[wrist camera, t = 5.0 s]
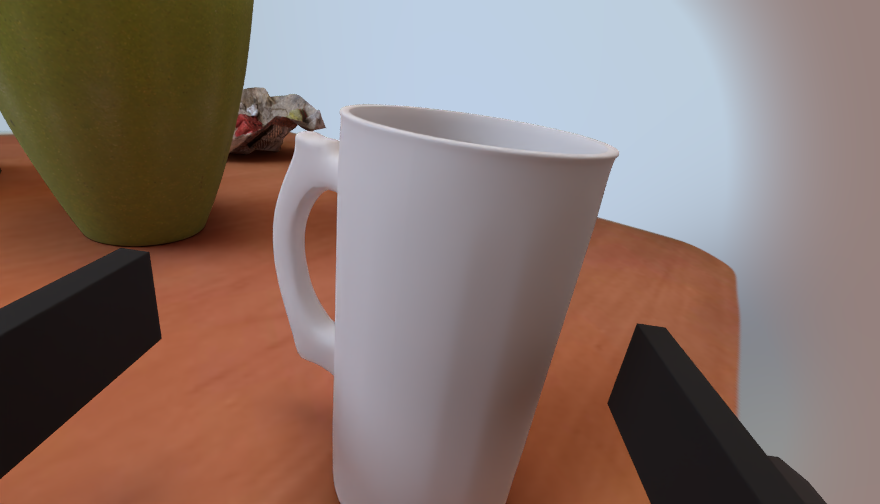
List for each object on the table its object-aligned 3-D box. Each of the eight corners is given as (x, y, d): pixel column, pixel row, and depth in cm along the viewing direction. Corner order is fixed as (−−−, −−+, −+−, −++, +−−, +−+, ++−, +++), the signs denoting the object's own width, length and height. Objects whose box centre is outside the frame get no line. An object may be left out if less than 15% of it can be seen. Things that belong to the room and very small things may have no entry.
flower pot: (292, 249, 31) (293, -7, 24) (-1, 298, 21) (-124, -104, 15) (226, 190, 40) (214, -2, 34) (5, 205, 31) (-67, -59, 25)
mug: (535, 445, 17) (627, 140, 12) (475, 619, 11) (604, 173, 7) (332, 353, 21) (344, 89, 16) (208, 450, 15) (169, 82, 10)
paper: (133, 173, 40) (122, 86, 37) (71, 141, 48) (58, 67, 45) (334, 158, 60) (337, 100, 57) (267, 137, 67) (267, 85, 64)
